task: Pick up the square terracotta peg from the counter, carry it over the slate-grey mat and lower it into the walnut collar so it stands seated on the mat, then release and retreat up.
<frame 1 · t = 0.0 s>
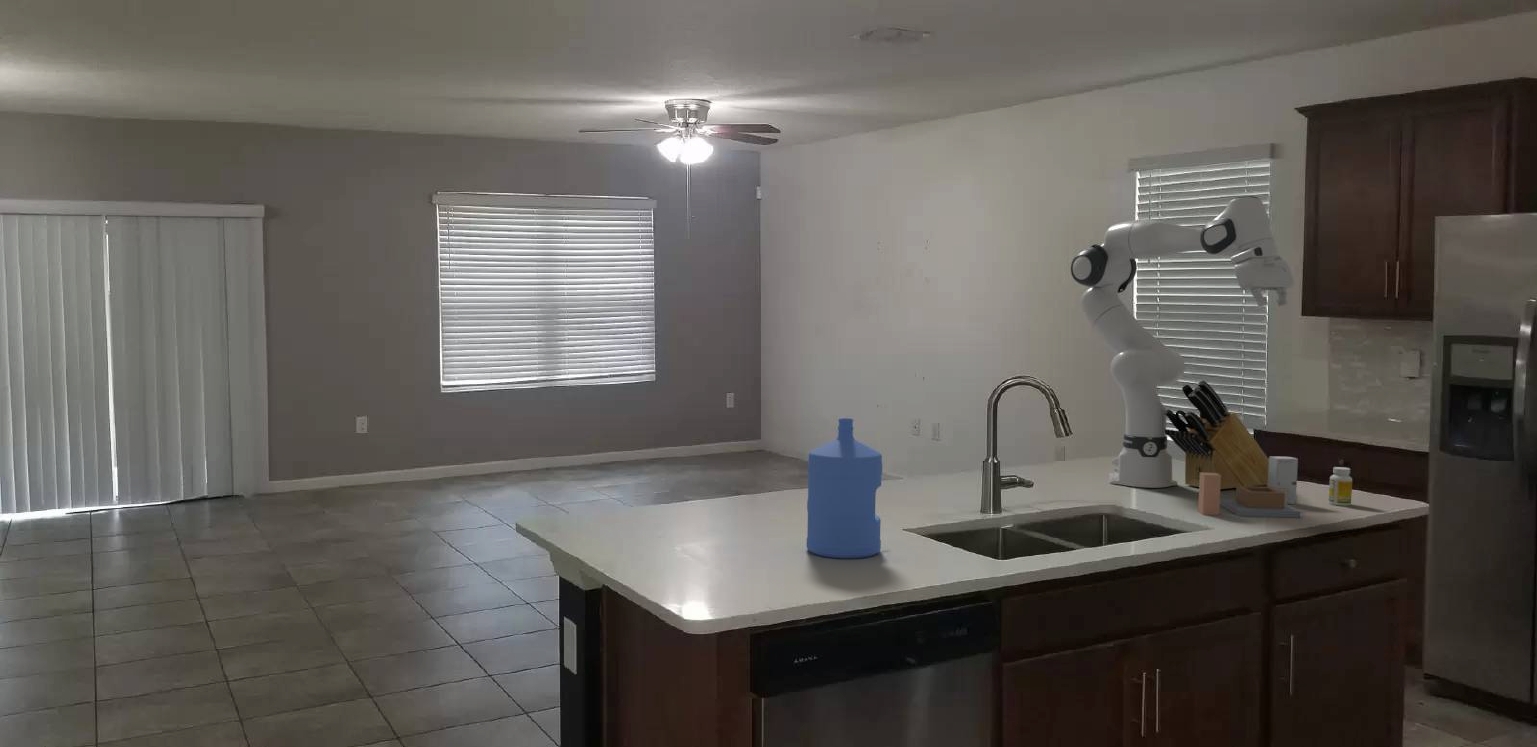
hand: (1273, 305, 305), 52 cm above the counter, tool tilted 20°, fingers open, 8 cm apart
terracotta peg: (1208, 513, 297), on the counter
skincare box: (1281, 503, 313), on the counter
knife block: (1219, 487, 337), on the counter
water jug: (843, 551, 250), on the counter
collar socket: (1259, 510, 301), on the counter
supplement bottle: (1339, 504, 312), on the counter
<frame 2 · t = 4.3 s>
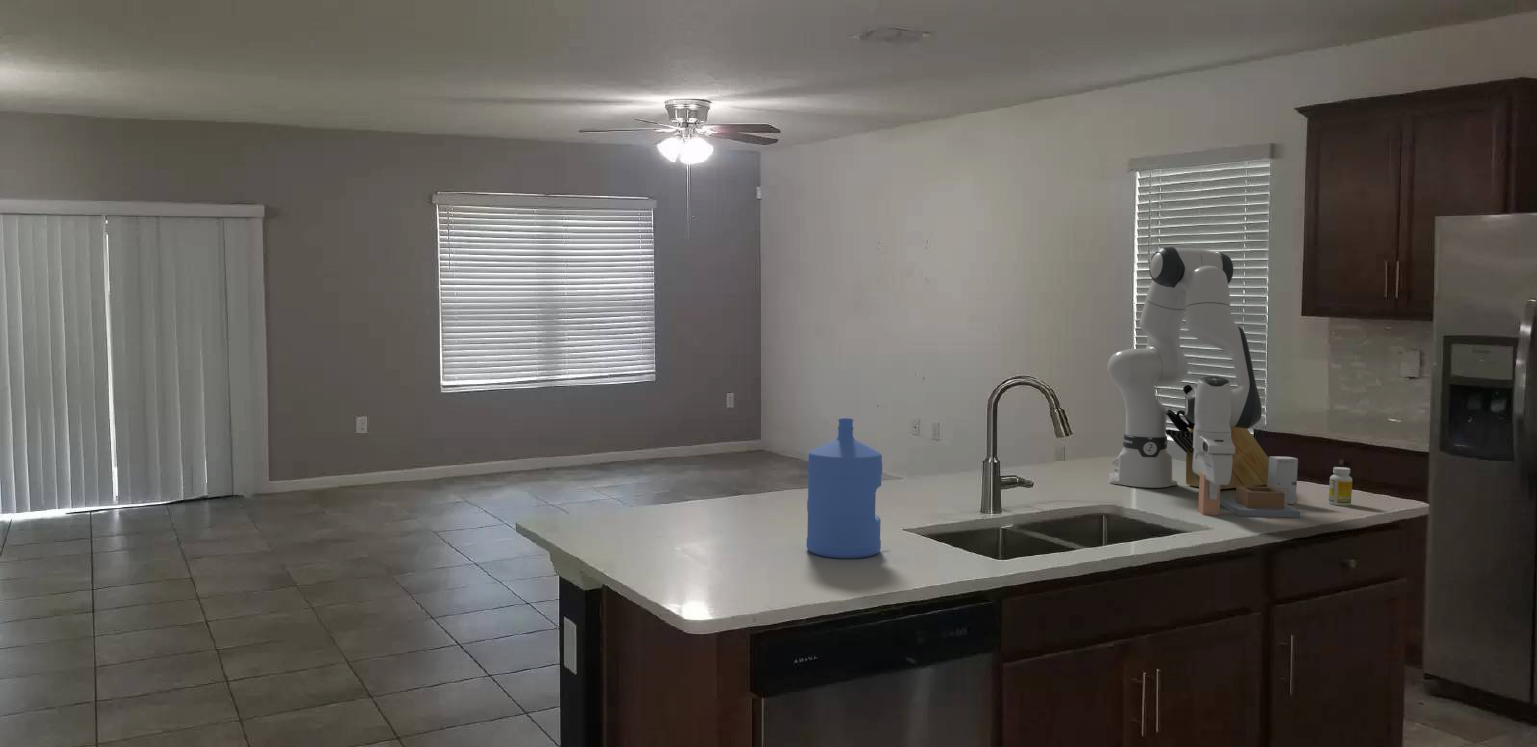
hand: (1209, 496, 296), 4 cm above the counter, tool pointing down, fingers closed on terracotta peg, 4 cm apart
terracotta peg: (1208, 513, 297), on the counter, touching gripper
everything else where it was.
when the fingers open (8 cm above the counter, at t = 10.9 s): terracotta peg drops 2 cm, resting on collar socket.
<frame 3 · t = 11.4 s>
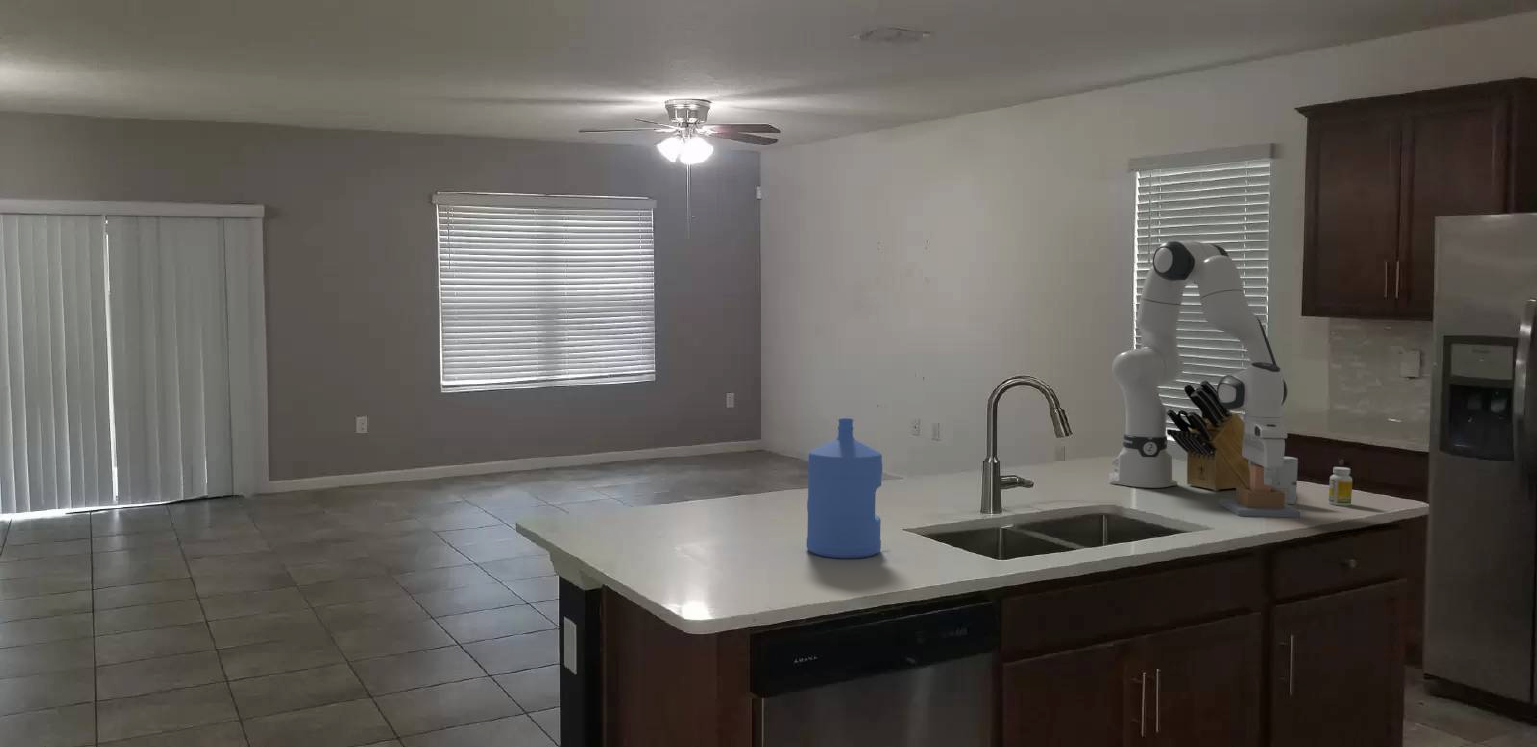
hand: (1260, 481, 300), 8 cm above the counter, tool pointing down, fingers open, 8 cm apart
terracotta peg: (1259, 504, 301), point 1 cm above the counter, touching collar socket
everything else where it was.
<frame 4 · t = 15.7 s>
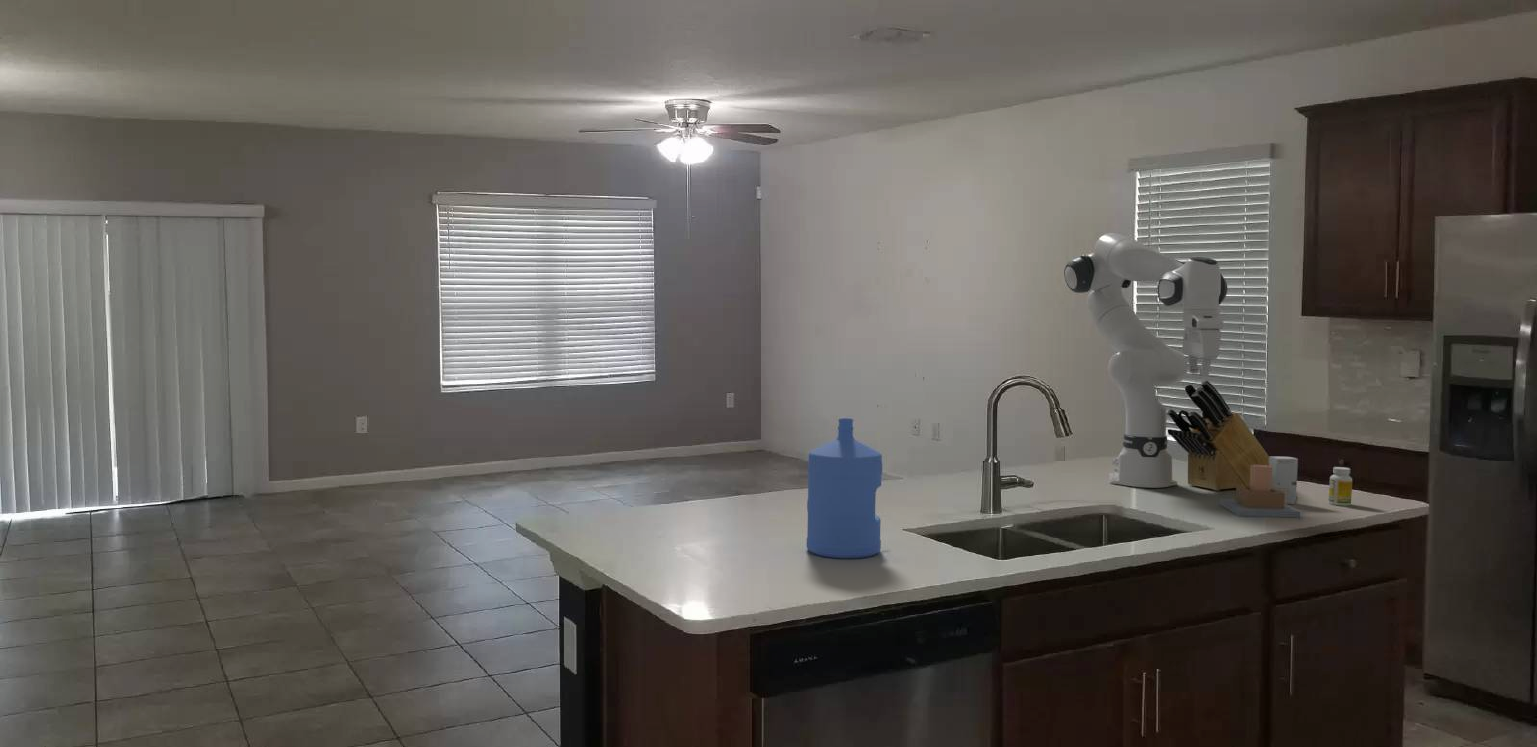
hand: (1198, 374, 304), 34 cm above the counter, tool pointing down, fingers open, 8 cm apart
nothing on the counter moved.
at the end: terracotta peg 0.1 cm off-centre on the collar socket, point 1.5 cm above the collar socket's base; terracotta peg tilted 0°; the gripper is holding nothing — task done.
